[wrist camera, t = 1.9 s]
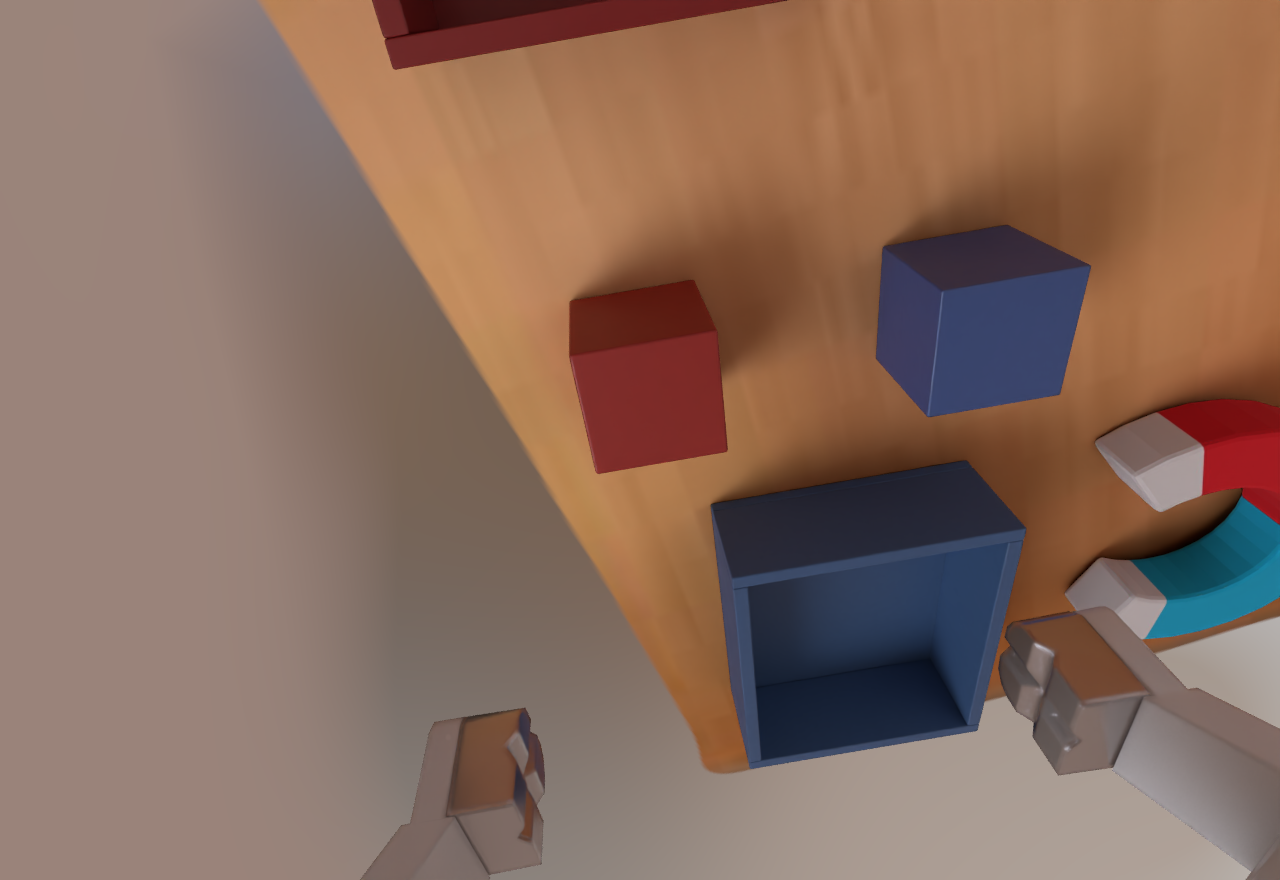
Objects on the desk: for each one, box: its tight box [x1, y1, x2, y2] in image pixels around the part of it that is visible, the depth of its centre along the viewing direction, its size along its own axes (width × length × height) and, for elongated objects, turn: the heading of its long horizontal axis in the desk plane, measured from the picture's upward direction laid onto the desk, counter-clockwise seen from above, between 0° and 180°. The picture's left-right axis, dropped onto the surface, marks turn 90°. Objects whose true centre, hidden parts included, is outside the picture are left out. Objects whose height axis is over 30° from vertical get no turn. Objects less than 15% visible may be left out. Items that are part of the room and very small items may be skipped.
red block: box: [569, 280, 728, 474], centre depth 22 cm, size 4×4×4 cm
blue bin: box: [711, 460, 1026, 769], centre depth 30 cm, size 13×11×4 cm
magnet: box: [1065, 399, 1280, 639], centre depth 29 cm, size 12×3×10 cm
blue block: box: [876, 225, 1091, 417], centre depth 22 cm, size 4×4×4 cm
